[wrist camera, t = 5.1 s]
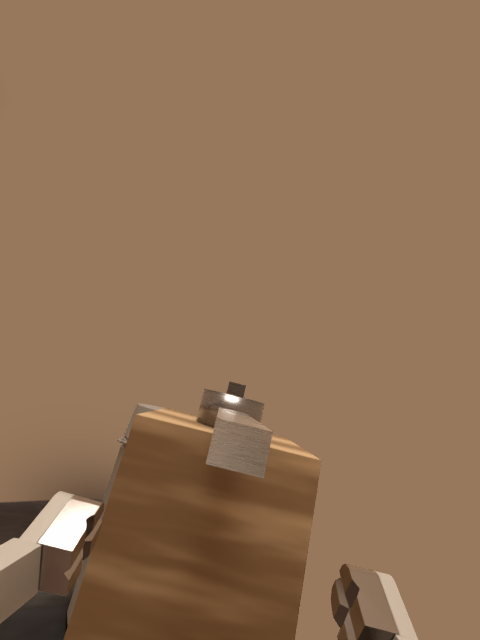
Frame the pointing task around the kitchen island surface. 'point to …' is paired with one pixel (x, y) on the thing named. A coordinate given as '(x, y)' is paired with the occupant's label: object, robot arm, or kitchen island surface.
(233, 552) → the wooden block
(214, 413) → the ratchet wrench
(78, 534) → the robot arm
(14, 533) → the kitchen island surface
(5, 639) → the kitchen island surface
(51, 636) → the kitchen island surface
